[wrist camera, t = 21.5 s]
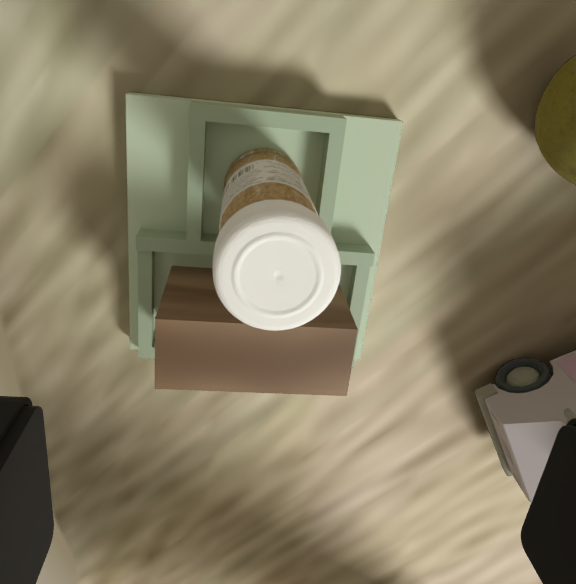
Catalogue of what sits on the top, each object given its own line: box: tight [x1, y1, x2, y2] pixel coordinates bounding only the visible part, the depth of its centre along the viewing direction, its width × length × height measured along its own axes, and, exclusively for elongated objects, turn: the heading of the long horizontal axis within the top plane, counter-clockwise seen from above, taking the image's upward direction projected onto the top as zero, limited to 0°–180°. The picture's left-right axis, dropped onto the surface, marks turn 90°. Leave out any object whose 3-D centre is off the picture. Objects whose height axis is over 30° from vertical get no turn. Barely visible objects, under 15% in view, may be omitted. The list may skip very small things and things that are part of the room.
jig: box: [126, 92, 403, 368], centre depth 32 cm, size 15×15×3 cm
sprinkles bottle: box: [212, 148, 341, 331], centre depth 25 cm, size 5×5×14 cm
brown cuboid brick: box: [155, 266, 358, 396], centre depth 31 cm, size 4×10×7 cm, turn 84°
